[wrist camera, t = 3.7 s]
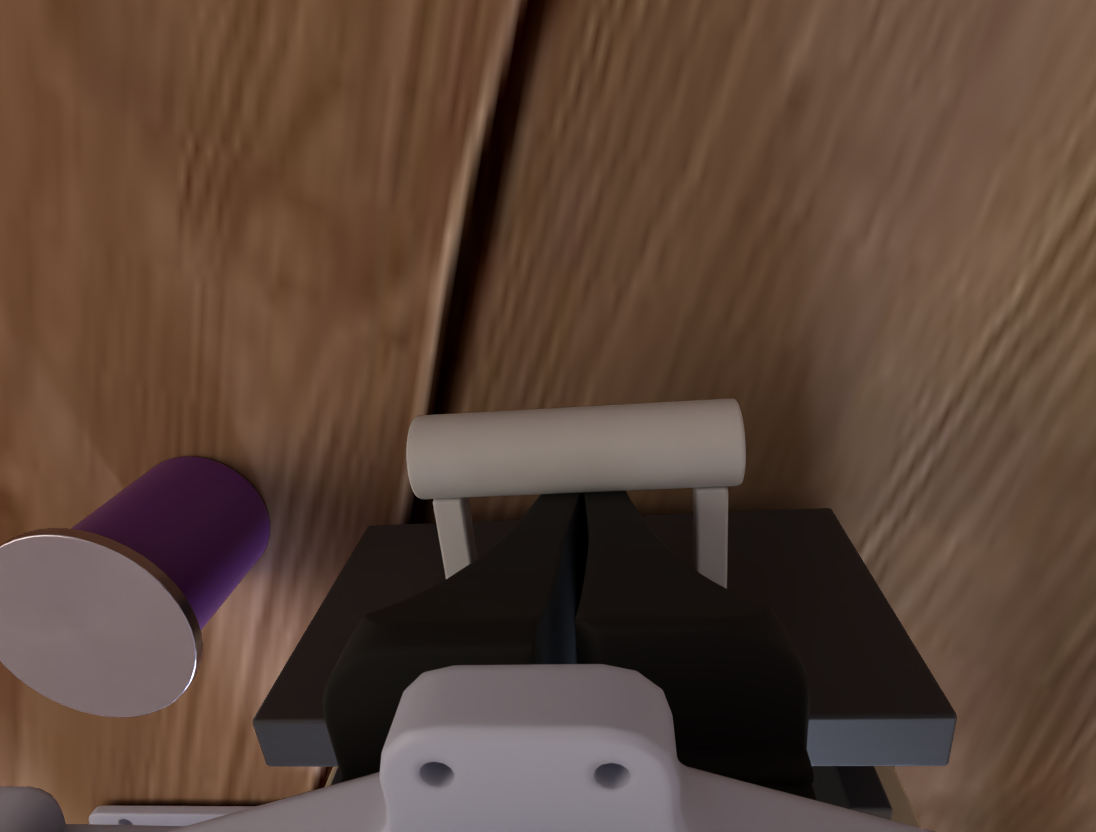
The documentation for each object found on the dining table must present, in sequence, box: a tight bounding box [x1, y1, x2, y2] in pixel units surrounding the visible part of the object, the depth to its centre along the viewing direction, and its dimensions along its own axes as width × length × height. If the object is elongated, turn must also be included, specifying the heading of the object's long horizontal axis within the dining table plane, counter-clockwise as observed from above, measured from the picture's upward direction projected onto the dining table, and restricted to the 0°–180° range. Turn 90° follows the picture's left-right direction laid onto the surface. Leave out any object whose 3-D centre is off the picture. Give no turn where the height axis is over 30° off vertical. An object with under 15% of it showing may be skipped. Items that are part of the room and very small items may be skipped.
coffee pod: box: [0, 457, 270, 717], centre depth 18 cm, size 5×5×5 cm
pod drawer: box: [253, 398, 957, 820], centre depth 16 cm, size 17×12×7 cm
